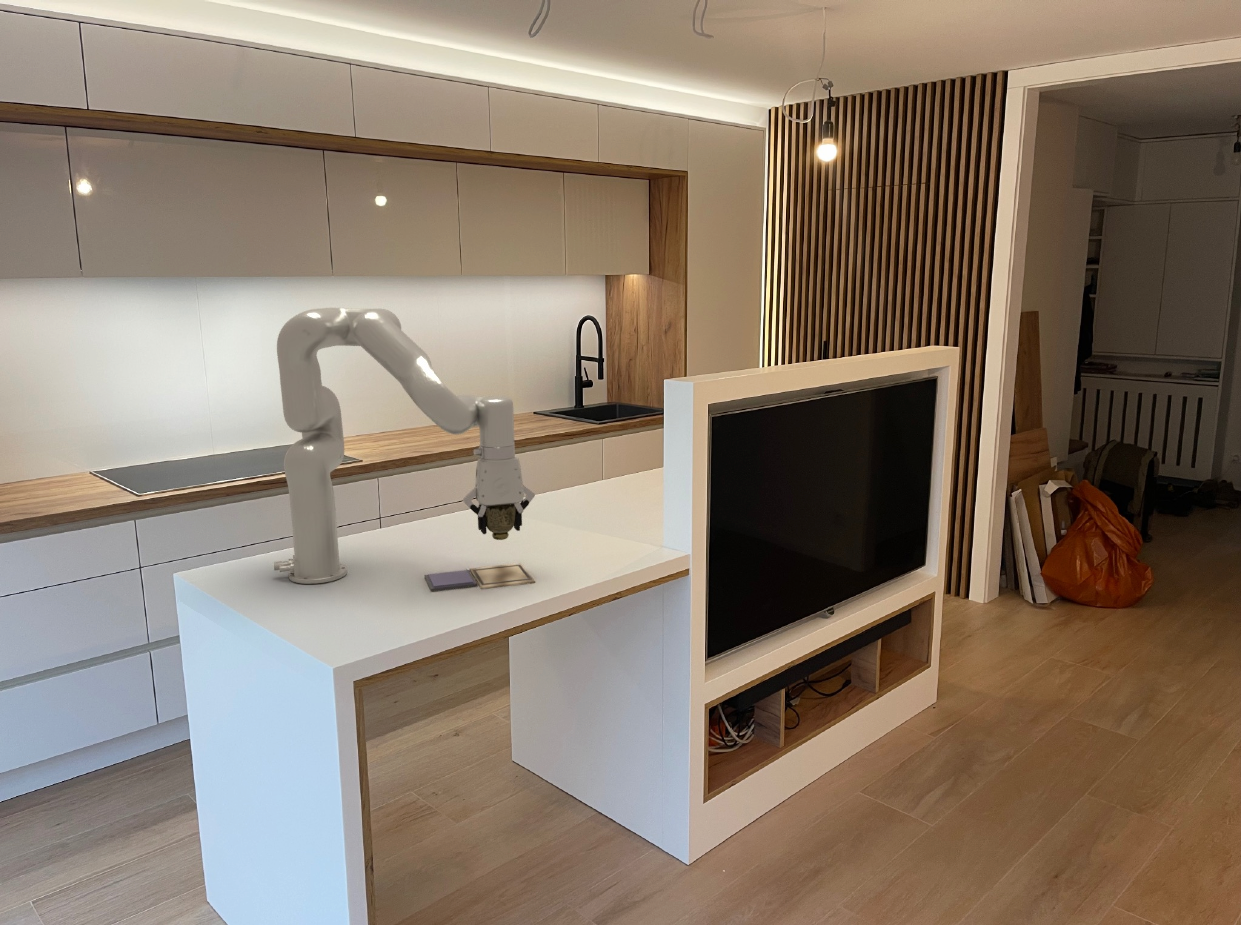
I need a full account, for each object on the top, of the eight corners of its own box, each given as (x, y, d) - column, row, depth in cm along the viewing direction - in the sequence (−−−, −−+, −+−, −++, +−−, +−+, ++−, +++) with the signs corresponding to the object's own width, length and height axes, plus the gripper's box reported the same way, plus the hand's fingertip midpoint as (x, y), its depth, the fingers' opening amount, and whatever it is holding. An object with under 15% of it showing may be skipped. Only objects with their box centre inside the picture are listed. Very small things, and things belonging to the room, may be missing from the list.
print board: (481, 589, 202) (481, 586, 202) (469, 570, 215) (469, 568, 214) (535, 582, 206) (535, 580, 205) (520, 564, 218) (520, 562, 218)
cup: (511, 544, 204) (510, 508, 202) (479, 542, 205) (477, 507, 204) (521, 534, 211) (520, 500, 210) (490, 533, 213) (489, 499, 211)
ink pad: (431, 591, 200) (431, 587, 200) (424, 577, 209) (424, 573, 209) (477, 586, 203) (477, 582, 203) (468, 572, 213) (468, 568, 212)
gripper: (461, 458, 198) (464, 539, 202) (540, 453, 204) (542, 531, 207) (455, 452, 205) (458, 530, 209) (531, 447, 211) (534, 523, 214)
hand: (500, 530), depth 208 cm, fingers closed on cup, 7 cm apart
